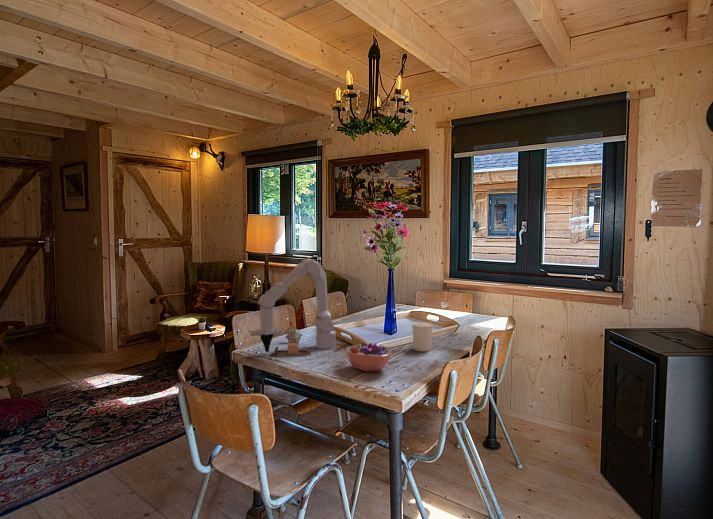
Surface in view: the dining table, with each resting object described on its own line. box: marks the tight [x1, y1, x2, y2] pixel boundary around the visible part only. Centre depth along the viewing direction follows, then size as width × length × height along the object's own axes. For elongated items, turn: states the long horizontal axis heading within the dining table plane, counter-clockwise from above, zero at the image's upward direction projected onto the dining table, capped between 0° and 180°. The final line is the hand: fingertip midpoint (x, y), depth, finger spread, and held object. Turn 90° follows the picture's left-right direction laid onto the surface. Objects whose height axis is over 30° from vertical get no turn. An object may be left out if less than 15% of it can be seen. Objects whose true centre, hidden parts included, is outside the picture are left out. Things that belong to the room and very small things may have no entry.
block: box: [287, 342, 299, 355], centre depth 195 cm, size 4×4×4 cm
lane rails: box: [273, 349, 308, 358], centre depth 195 cm, size 14×8×2 cm, turn 95°
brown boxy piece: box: [273, 346, 312, 357], centre depth 195 cm, size 16×6×4 cm, turn 95°
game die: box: [284, 327, 302, 343], centre depth 216 cm, size 9×8×10 cm
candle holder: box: [411, 321, 434, 352], centre depth 207 cm, size 10×10×12 cm
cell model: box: [345, 342, 393, 372], centre depth 177 cm, size 17×20×11 cm
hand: (267, 351), depth 194 cm, fingers closed
